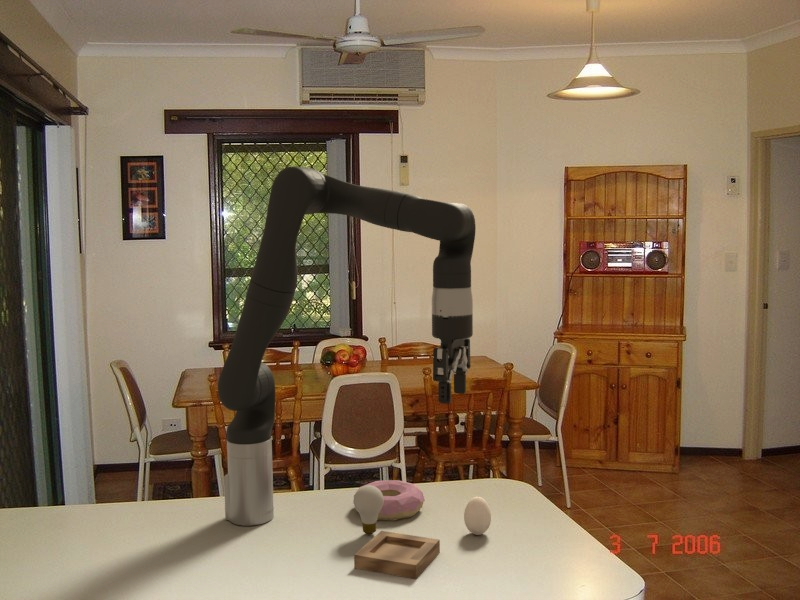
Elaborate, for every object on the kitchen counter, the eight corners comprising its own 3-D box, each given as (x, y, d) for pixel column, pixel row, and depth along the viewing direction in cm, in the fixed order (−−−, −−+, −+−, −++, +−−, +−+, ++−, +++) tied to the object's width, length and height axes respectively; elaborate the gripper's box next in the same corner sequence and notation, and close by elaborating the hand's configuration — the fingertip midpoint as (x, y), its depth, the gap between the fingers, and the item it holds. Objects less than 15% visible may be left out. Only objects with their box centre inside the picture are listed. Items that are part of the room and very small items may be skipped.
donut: (430, 501, 179) (430, 479, 179) (416, 526, 164) (415, 503, 164) (363, 496, 183) (363, 475, 182) (343, 521, 168) (343, 498, 167)
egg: (484, 527, 163) (484, 491, 162) (495, 537, 158) (495, 499, 157) (459, 531, 161) (459, 494, 160) (470, 541, 156) (470, 502, 155)
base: (354, 568, 145) (354, 554, 144) (381, 543, 156) (381, 530, 155) (416, 578, 140) (416, 565, 140) (439, 552, 151) (439, 539, 151)
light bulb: (380, 541, 156) (379, 491, 155) (351, 539, 158) (350, 490, 157) (387, 530, 162) (386, 482, 161) (358, 528, 163) (358, 480, 162)
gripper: (445, 307, 156) (446, 389, 157) (419, 315, 142) (419, 404, 144) (483, 308, 153) (483, 392, 154) (459, 317, 140) (459, 408, 141)
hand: (452, 398), depth 149 cm, fingers open, 8 cm apart
